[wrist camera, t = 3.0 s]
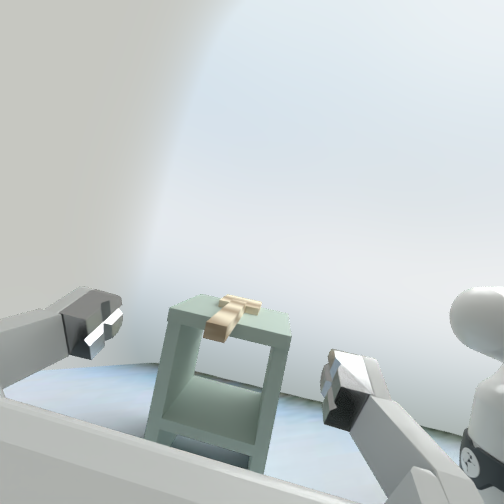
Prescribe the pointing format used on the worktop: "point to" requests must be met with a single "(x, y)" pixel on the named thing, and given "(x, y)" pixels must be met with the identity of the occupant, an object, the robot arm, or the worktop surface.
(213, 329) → the turner
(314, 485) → the worktop surface
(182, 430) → the shelf
